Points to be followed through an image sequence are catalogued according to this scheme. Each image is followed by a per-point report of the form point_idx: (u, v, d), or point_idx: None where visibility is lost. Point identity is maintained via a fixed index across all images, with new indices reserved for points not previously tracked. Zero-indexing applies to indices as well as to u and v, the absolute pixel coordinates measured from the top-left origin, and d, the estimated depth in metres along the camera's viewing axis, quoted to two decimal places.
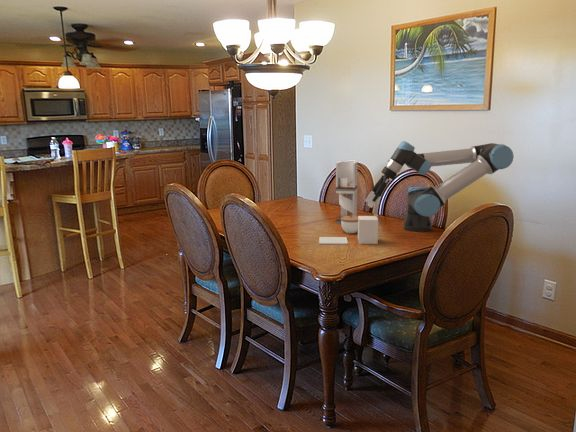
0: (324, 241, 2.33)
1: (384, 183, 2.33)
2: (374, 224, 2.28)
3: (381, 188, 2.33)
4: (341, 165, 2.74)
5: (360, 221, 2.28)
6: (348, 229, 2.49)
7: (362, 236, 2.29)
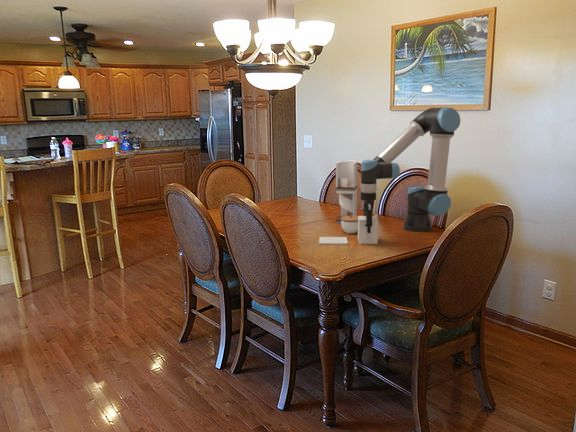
0: (324, 241, 2.33)
1: (368, 211, 2.24)
2: (374, 224, 2.28)
3: (368, 218, 2.24)
4: (341, 165, 2.74)
5: (360, 221, 2.28)
6: (348, 229, 2.49)
7: (362, 236, 2.29)
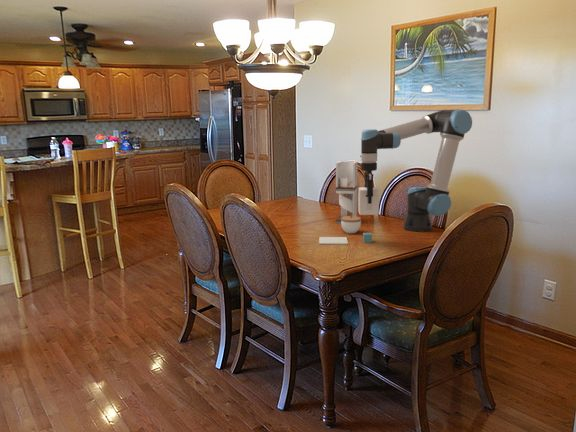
0: (324, 241, 2.33)
1: (369, 181, 2.21)
2: (375, 195, 2.25)
3: (369, 188, 2.21)
4: (341, 165, 2.74)
5: (361, 192, 2.25)
6: (348, 229, 2.49)
7: (363, 207, 2.26)
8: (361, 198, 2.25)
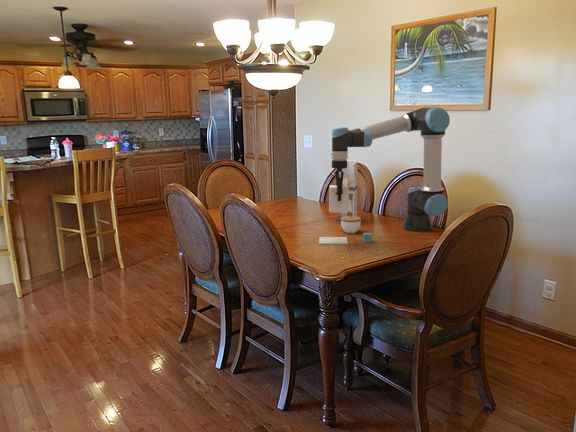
0: (324, 241, 2.33)
1: (339, 179, 2.22)
2: (345, 192, 2.25)
3: (339, 185, 2.22)
4: None
5: (331, 189, 2.25)
6: (348, 229, 2.49)
7: (333, 204, 2.27)
8: (331, 195, 2.26)
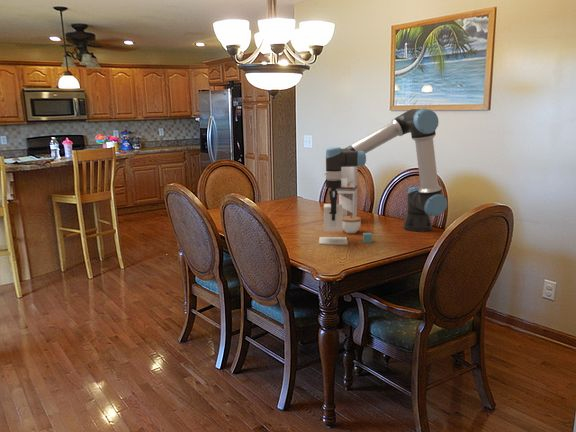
0: (324, 241, 2.33)
1: (333, 198, 2.24)
2: (338, 212, 2.27)
3: (332, 205, 2.24)
4: None
5: (325, 208, 2.28)
6: (348, 229, 2.49)
7: (327, 223, 2.29)
8: (325, 215, 2.28)
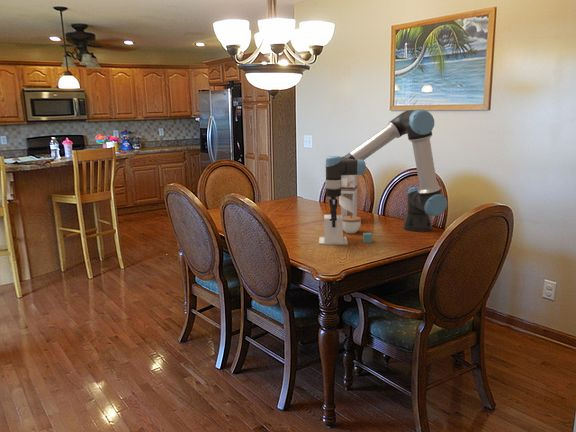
0: None
1: (333, 205, 2.24)
2: (339, 223, 2.29)
3: (333, 212, 2.23)
4: None
5: (325, 220, 2.29)
6: (348, 229, 2.49)
7: (327, 235, 2.30)
8: (325, 226, 2.29)
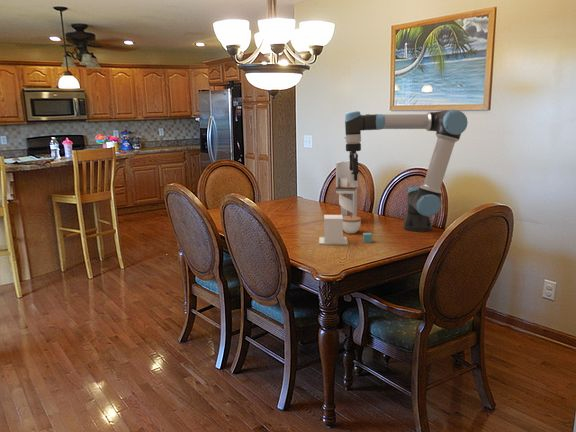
0: None
1: (354, 159, 2.30)
2: (339, 223, 2.29)
3: (354, 165, 2.29)
4: (341, 165, 2.74)
5: (325, 220, 2.29)
6: (348, 229, 2.49)
7: (327, 235, 2.30)
8: (325, 226, 2.29)
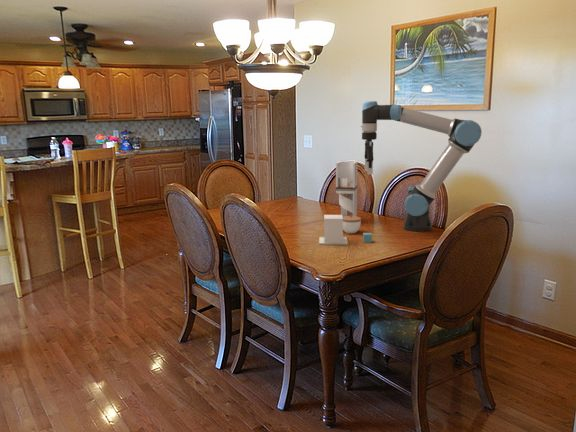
0: None
1: (369, 147, 2.38)
2: (339, 223, 2.29)
3: (369, 153, 2.37)
4: (341, 165, 2.74)
5: (325, 220, 2.29)
6: (348, 229, 2.49)
7: (327, 235, 2.30)
8: (325, 226, 2.29)
